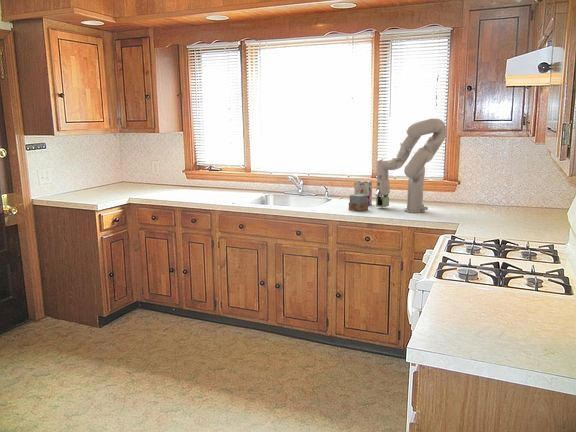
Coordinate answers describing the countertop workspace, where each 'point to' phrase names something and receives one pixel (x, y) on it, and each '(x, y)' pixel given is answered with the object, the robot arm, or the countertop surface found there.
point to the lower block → (358, 207)
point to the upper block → (358, 199)
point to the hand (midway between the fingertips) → (382, 204)
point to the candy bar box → (364, 189)
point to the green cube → (383, 202)
